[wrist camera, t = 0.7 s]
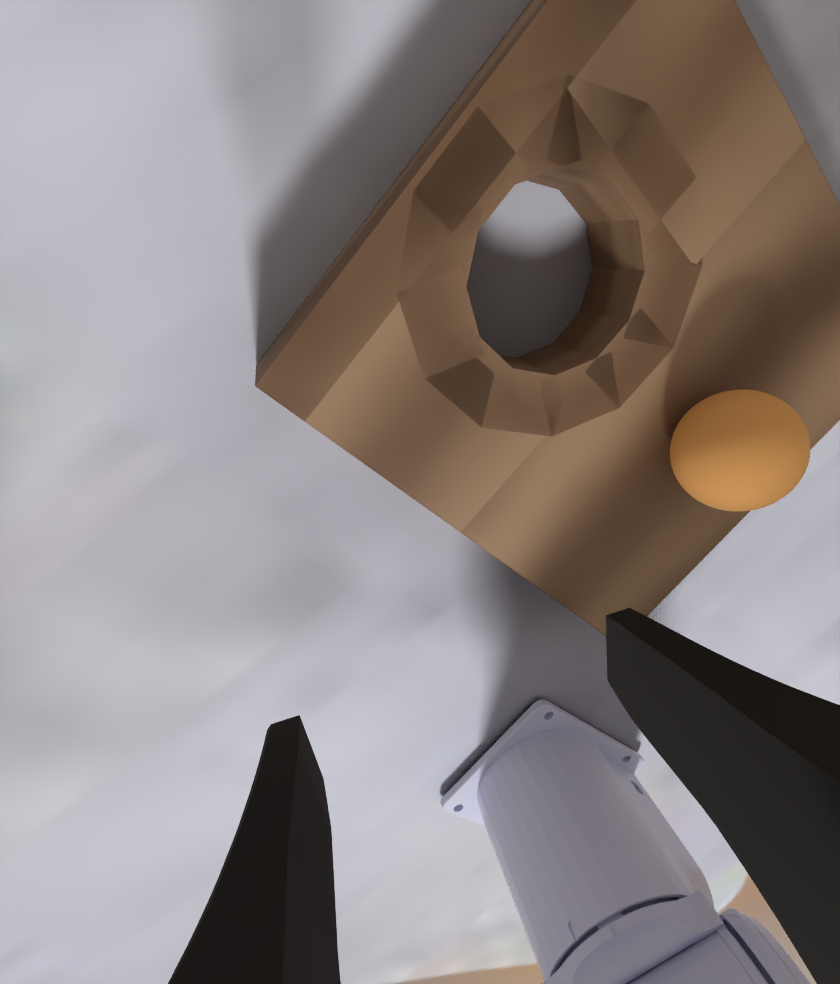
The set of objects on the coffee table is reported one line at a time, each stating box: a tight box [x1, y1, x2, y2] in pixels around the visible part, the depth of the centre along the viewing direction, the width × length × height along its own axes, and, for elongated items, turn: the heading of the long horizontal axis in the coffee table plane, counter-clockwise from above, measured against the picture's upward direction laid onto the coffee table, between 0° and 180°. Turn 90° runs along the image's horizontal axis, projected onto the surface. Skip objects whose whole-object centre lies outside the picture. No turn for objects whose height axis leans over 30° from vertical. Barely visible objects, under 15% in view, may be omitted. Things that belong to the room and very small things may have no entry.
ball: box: [670, 389, 810, 511], centre depth 18 cm, size 4×4×4 cm
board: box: [255, 0, 840, 636], centre depth 19 cm, size 18×16×3 cm
